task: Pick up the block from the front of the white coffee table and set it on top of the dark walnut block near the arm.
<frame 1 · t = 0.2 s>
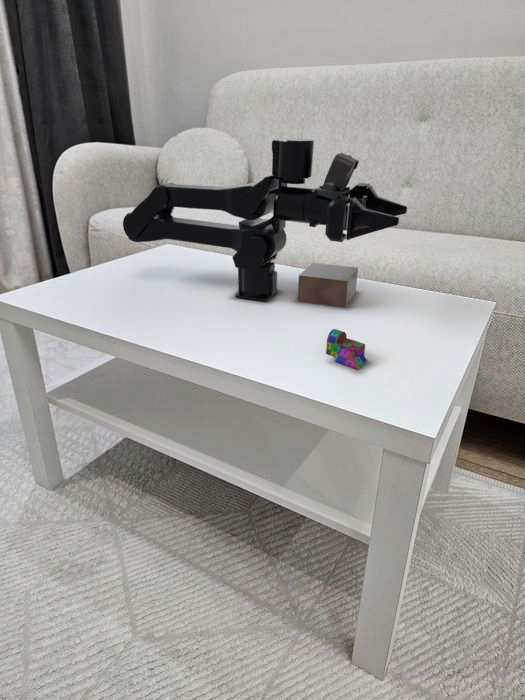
hand: (402, 215, 75), 17 cm above the table, tool horizontal, fingers open, 9 cm apart
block: (346, 359, 67), on the table
walnut block: (327, 296, 90), on the table
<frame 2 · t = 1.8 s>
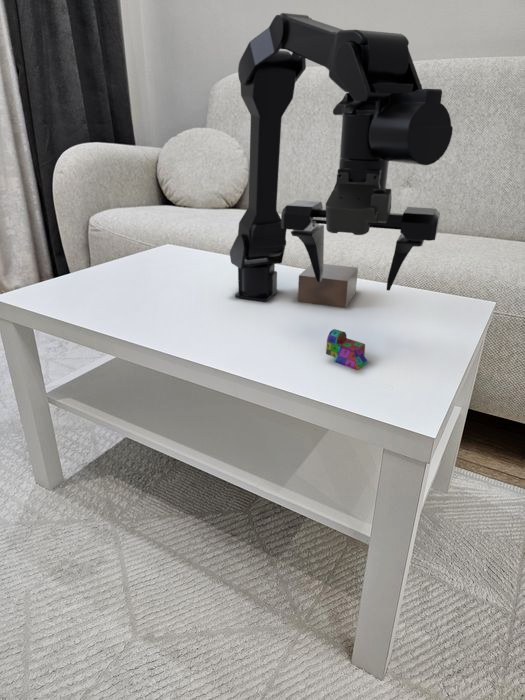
hand: (353, 285, 63), 11 cm above the table, tool pointing down, fingers open, 9 cm apart
nothing on the table moved.
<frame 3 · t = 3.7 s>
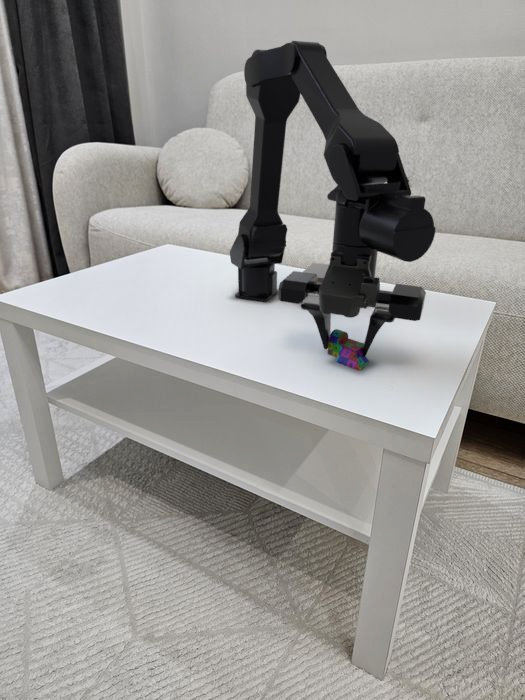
hand: (345, 351, 67), 1 cm above the table, tool pointing down, fingers closed on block, 5 cm apart
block: (347, 359, 67), on the table, touching gripper
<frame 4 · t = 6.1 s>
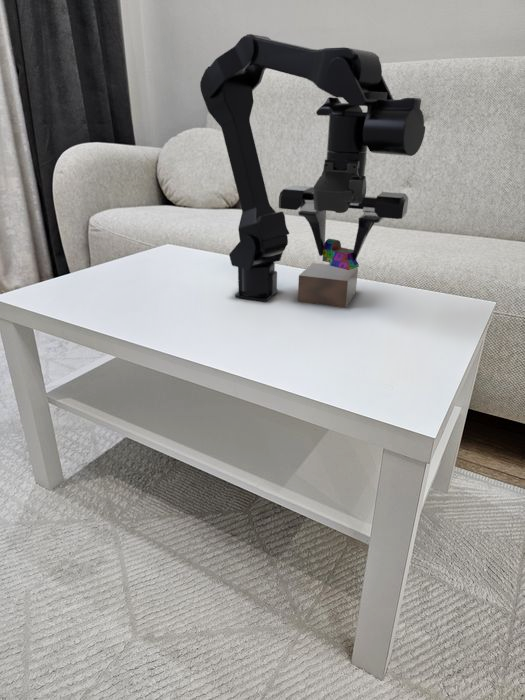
hand: (337, 257, 76), 11 cm above the table, tool pointing down, fingers closed on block, 5 cm apart
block: (340, 264, 76), point 10 cm above the table, touching gripper
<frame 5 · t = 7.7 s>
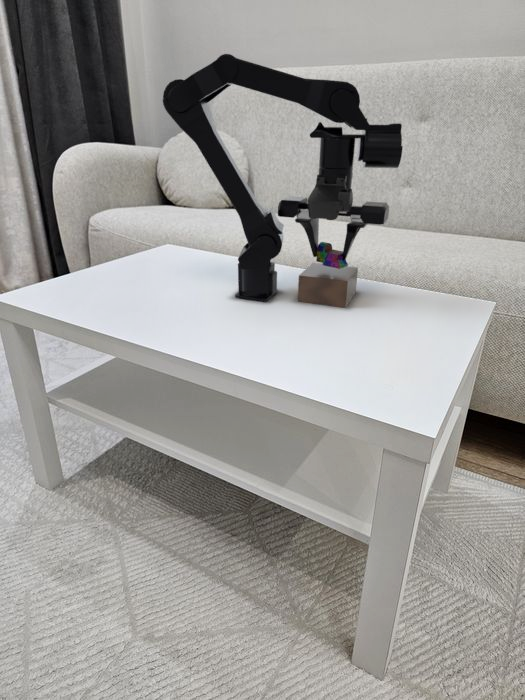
hand: (329, 258, 87), 8 cm above the table, tool pointing down, fingers closed on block, 5 cm apart
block: (331, 264, 87), point 6 cm above the table, touching gripper
when the fingers open (6 cm above the table, at t = 8.6 s): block stays where it is, resting on walnut block.
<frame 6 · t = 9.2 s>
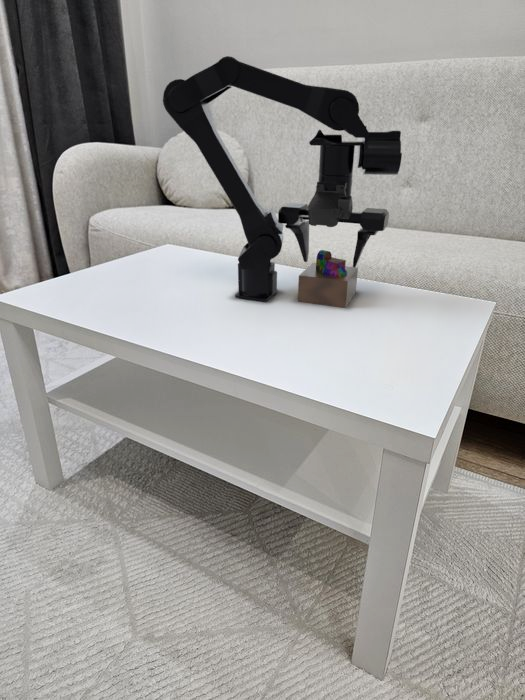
hand: (329, 264, 88), 6 cm above the table, tool pointing down, fingers open, 9 cm apart
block: (331, 272, 88), point 5 cm above the table, touching walnut block
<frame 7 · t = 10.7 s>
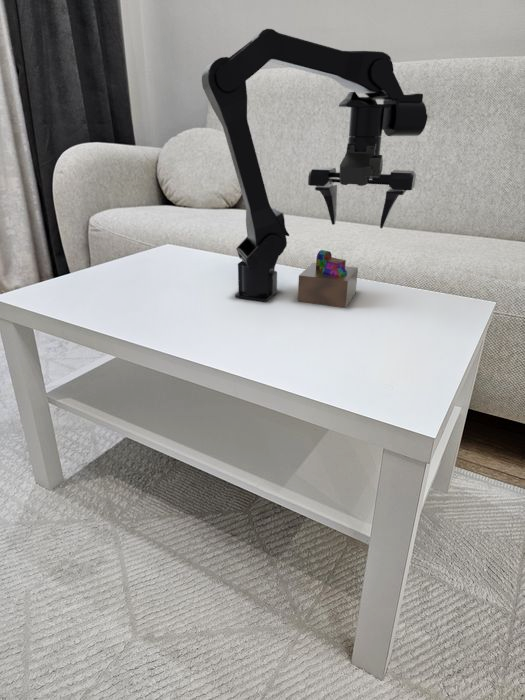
hand: (357, 226, 91), 12 cm above the table, tool pointing down, fingers open, 9 cm apart
nothing on the table moved.
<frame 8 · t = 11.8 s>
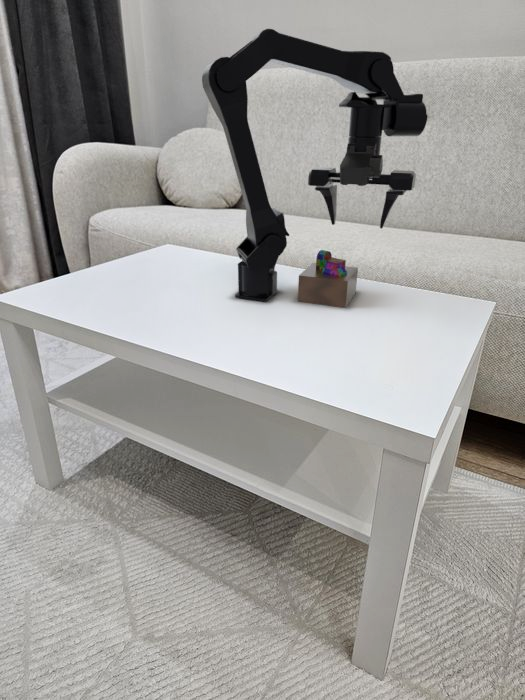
hand: (357, 226, 91), 12 cm above the table, tool pointing down, fingers open, 9 cm apart
nothing on the table moved.
at the end: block 0.4 cm off-centre on the walnut block, point 4.8 cm above the walnut block's base; the gripper is holding nothing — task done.
